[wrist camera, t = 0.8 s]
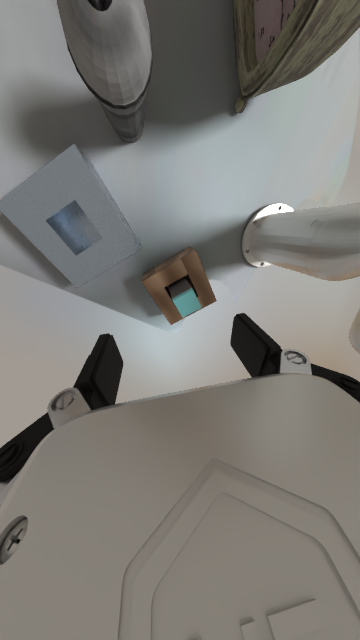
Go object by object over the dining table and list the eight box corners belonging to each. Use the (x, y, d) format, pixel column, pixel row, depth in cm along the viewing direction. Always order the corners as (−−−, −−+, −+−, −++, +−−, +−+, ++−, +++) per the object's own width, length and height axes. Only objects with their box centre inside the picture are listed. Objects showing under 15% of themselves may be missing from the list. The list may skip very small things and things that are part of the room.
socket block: (90, 160, 24) (74, 143, 19) (141, 246, 32) (139, 249, 27) (24, 208, 26) (-6, 204, 21) (87, 278, 33) (76, 288, 28)
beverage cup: (133, 168, 25) (98, 53, 9) (91, 118, 22) (-103, -232, 5) (162, 123, 23) (188, -144, 7) (120, 60, 20) (-49, -826, 3)
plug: (182, 273, 35) (193, 289, 26) (189, 287, 37) (201, 307, 28) (167, 281, 35) (172, 300, 26) (175, 295, 37) (182, 317, 28)
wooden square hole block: (189, 246, 33) (195, 250, 28) (208, 291, 39) (216, 300, 34) (143, 274, 35) (141, 282, 30) (168, 312, 41) (171, 324, 36)
